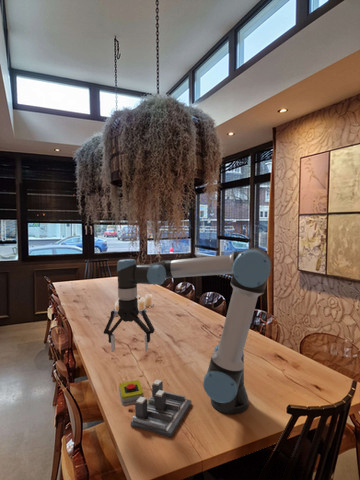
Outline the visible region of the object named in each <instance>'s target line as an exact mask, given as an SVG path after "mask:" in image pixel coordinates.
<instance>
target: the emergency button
mask: <svg viewBox="0 0 360 480" xmlns="http://www.w3.org/2000/svg"><path fill="white" fill-rule="evenodd" d="M118 392H119V397H120V402H121V405H122V406H128V405H133V404H134V405H135V403H136V401H137V400H138V399H139V398H140V397H144V391H143V388H142V384H141V382H140V380H139V379H136V380H130V381H123V382H120V383H119V385H118Z"/></svg>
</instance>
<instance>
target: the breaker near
mask: <svg viewBox="0 0 360 480" xmlns="http://www.w3.org/2000/svg"><path fill="white" fill-rule="evenodd" d="M147 402H148V398H147V397H145V396H143V397H140V398H139V399H138V400H137V401H136V403H134V405H135V406H134V410H135V412H134V416H136V417H139V418H143V419H145V418H146V416H147V415H148V410H147Z"/></svg>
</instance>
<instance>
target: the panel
mask: <svg viewBox="0 0 360 480" xmlns="http://www.w3.org/2000/svg"><path fill="white" fill-rule="evenodd" d="M165 392H166V408H165V410H164V411H162V410H158V409H155V397H152V396H150V397H149V398H147V410H148V415H147V416H146V418H145V419H143V418H139V417H136V416H135V415H133V416H132V420H131V421H130V426H131V427H133V428H137V429H140V430H144V431H148V432H151V433H154V434H158V435H160V436H164V437H168V438H172V437H173V436H174V434H175V432H176V430H177V428H178V427H179V426H180V424H181V422H182V420H183V419H184V417H185V416H186V414H187V413H188V411H189V410H190V407H191V405H192V402H193V401H192V399H187V398H186V395H181V394H177V393H173V392H168V391H165Z"/></svg>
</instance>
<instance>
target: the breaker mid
mask: <svg viewBox="0 0 360 480" xmlns="http://www.w3.org/2000/svg"><path fill="white" fill-rule="evenodd" d="M166 392H167V391H165V390H163V391H162V390H159V391H158V392H157V393H156V395H155V409H158V410H162V411H164V410H165V408H166Z"/></svg>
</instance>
